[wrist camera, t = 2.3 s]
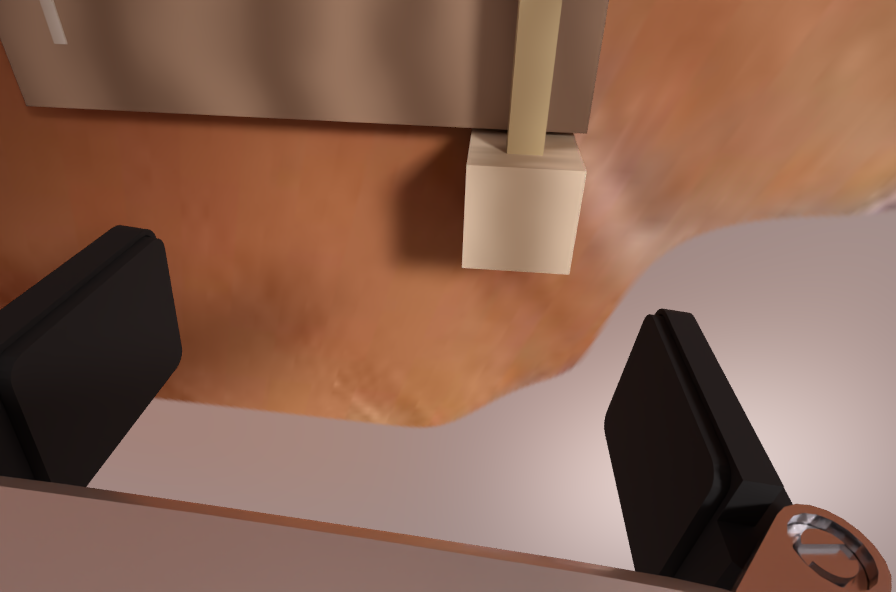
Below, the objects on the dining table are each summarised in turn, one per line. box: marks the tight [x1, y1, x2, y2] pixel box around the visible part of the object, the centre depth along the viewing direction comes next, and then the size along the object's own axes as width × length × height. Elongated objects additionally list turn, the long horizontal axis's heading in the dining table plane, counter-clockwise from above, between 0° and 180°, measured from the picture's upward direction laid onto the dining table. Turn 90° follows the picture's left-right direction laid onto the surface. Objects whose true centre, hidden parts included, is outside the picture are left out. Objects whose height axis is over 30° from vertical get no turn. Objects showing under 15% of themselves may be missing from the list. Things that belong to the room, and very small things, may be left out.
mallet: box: [462, 0, 587, 274], centre depth 25 cm, size 5×13×6 cm, turn 179°
